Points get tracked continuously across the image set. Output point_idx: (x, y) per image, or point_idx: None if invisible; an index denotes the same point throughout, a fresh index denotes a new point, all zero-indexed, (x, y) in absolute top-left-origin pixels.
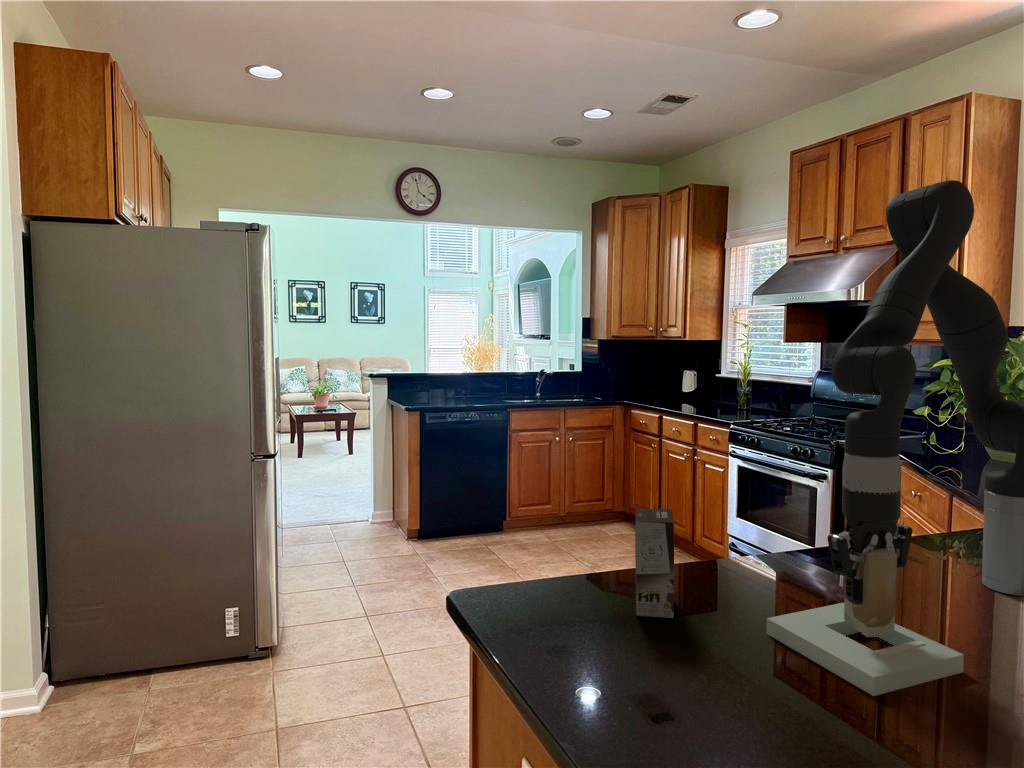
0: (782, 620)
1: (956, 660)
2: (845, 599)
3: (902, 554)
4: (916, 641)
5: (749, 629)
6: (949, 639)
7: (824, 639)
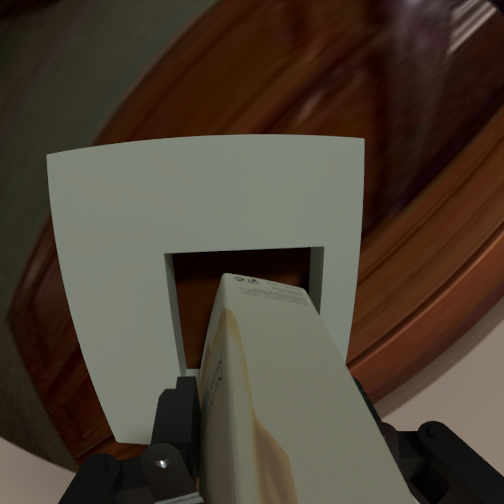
0: (74, 182)
1: None
2: (220, 314)
3: (421, 500)
4: None
5: (49, 117)
6: (424, 317)
7: (110, 319)
